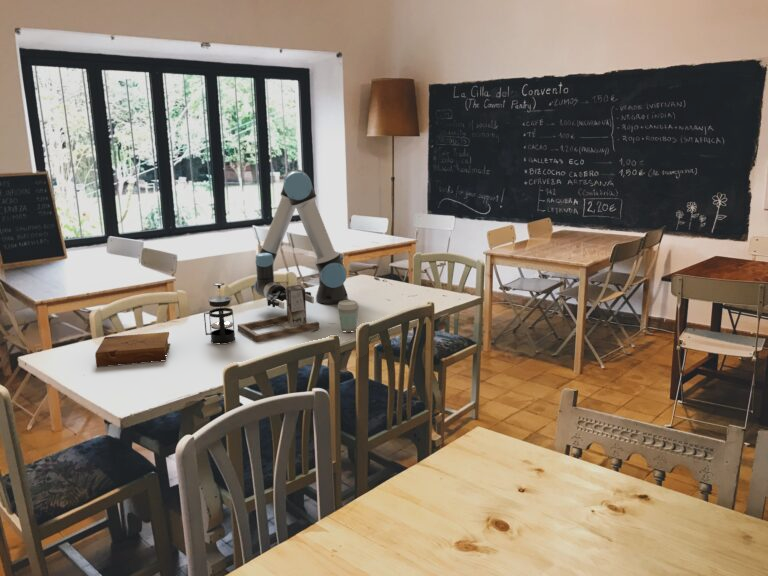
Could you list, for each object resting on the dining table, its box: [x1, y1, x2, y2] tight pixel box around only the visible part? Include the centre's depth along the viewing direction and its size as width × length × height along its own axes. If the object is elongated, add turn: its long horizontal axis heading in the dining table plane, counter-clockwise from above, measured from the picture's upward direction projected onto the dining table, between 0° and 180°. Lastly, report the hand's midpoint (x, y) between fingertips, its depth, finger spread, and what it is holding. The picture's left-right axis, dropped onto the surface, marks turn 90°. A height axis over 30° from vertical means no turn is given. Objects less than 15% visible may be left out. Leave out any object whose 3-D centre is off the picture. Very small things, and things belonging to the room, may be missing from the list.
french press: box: [203, 282, 236, 345], centre depth 246 cm, size 12×9×23 cm
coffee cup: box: [336, 299, 359, 332], centre depth 257 cm, size 9×8×12 cm
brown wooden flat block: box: [94, 331, 171, 368], centre depth 233 cm, size 23×19×6 cm
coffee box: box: [285, 284, 307, 327], centre depth 264 cm, size 9×6×16 cm
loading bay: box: [237, 314, 320, 342], centre depth 261 cm, size 28×18×2 cm, turn 125°
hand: (298, 302), depth 260 cm, fingers open, 13 cm apart
